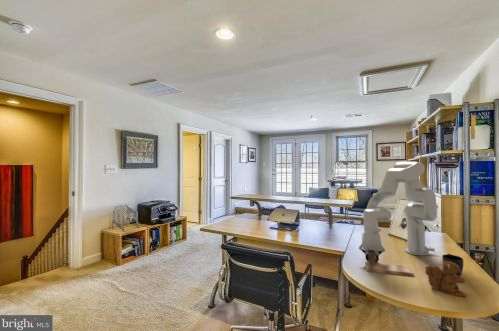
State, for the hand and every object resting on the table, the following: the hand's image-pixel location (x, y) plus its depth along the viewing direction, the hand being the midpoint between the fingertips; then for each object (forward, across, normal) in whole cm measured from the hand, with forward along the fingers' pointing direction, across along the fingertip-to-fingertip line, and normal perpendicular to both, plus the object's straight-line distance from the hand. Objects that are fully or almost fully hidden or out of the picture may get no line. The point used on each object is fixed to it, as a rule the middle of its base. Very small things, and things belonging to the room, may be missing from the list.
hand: (372, 261), depth 142 cm
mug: (+2, -37, +5) cm, 37 cm away
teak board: (+1, -7, +8) cm, 10 cm away
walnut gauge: (+1, 0, +3) cm, 3 cm away
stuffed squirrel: (+2, -27, +23) cm, 36 cm away
